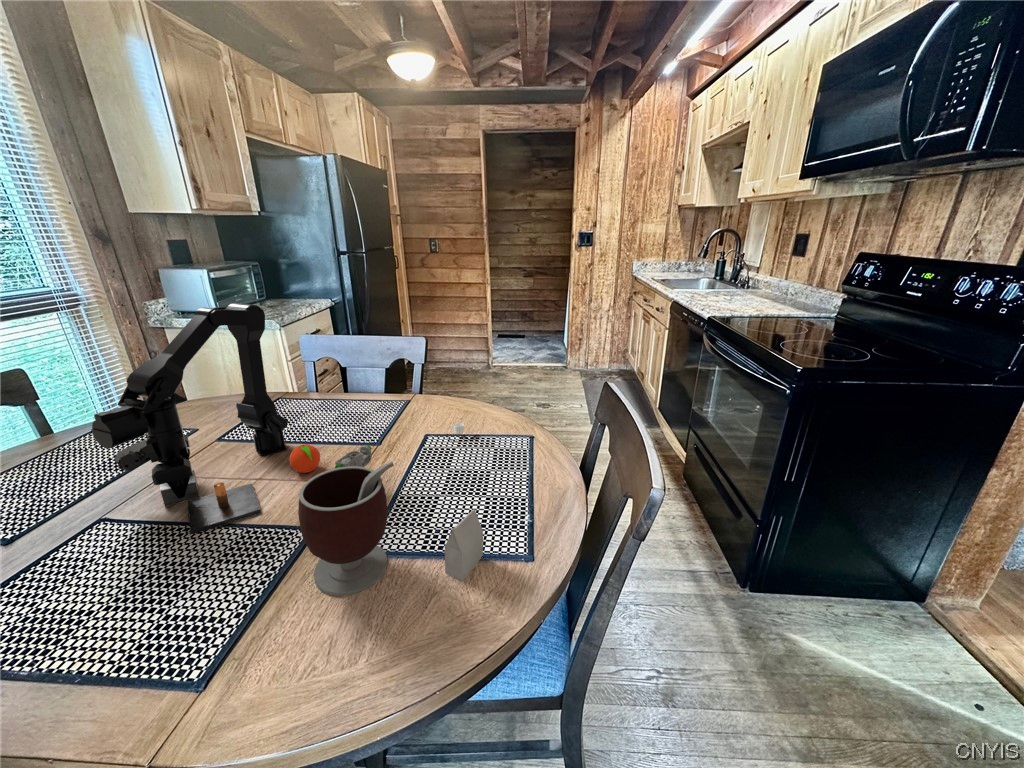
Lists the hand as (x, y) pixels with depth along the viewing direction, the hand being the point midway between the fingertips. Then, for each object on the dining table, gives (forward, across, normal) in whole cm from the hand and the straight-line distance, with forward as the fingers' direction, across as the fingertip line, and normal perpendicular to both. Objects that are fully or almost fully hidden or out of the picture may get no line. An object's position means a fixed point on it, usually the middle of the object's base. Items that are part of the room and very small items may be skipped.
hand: (180, 490), depth 93 cm
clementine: (+2, +5, +25) cm, 26 cm away
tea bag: (+2, +55, +40) cm, 68 cm away
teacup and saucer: (+2, +12, +66) cm, 67 cm away
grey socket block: (+1, +11, +7) cm, 13 cm away
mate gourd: (+2, +44, +24) cm, 50 cm away
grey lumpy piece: (+1, +21, +32) cm, 38 cm away
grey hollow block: (+1, 0, 0) cm, 1 cm away
